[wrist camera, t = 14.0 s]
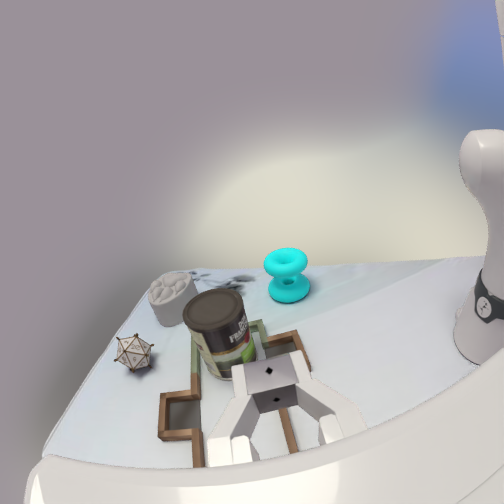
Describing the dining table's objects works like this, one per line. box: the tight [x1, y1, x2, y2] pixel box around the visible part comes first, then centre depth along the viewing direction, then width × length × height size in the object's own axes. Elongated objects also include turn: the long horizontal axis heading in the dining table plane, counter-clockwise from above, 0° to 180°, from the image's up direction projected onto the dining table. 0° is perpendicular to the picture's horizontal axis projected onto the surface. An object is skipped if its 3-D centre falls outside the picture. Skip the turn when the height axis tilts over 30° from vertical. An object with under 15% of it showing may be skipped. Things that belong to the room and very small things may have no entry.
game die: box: [114, 333, 154, 373], centre depth 50 cm, size 9×8×10 cm
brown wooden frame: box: [158, 319, 311, 468], centre depth 41 cm, size 27×35×2 cm
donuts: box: [264, 248, 310, 303], centre depth 63 cm, size 10×10×10 cm
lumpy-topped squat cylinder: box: [148, 273, 198, 327], centre depth 65 cm, size 10×13×9 cm
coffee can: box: [182, 288, 258, 380], centre depth 47 cm, size 10×10×14 cm
